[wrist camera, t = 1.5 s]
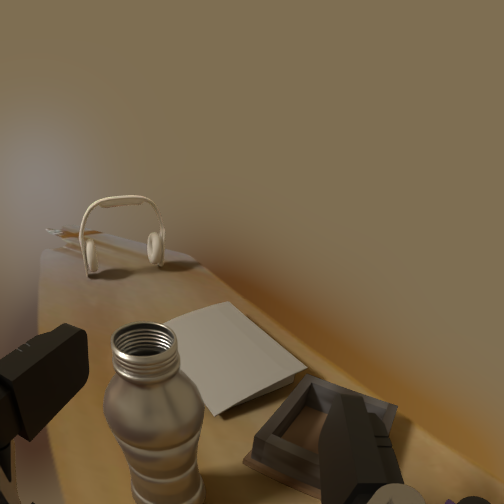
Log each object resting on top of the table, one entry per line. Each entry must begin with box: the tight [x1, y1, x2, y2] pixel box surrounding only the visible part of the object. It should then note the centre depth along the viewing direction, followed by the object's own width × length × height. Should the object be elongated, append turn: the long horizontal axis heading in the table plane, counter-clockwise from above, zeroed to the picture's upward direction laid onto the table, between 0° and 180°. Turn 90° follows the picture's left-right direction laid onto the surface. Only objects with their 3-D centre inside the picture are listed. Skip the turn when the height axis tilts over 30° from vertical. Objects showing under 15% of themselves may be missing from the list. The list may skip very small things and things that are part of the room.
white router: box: [163, 301, 308, 417], centre depth 46 cm, size 15×23×4 cm, turn 34°
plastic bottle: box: [103, 321, 206, 504], centre depth 20 cm, size 6×7×20 cm
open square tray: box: [243, 374, 398, 500], centre depth 30 cm, size 13×13×5 cm
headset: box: [79, 195, 165, 276], centre depth 68 cm, size 20×7×18 cm, turn 122°
